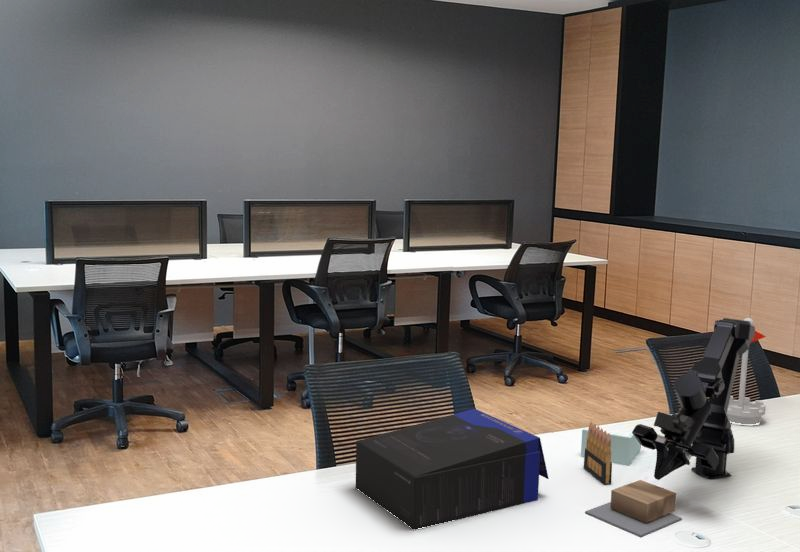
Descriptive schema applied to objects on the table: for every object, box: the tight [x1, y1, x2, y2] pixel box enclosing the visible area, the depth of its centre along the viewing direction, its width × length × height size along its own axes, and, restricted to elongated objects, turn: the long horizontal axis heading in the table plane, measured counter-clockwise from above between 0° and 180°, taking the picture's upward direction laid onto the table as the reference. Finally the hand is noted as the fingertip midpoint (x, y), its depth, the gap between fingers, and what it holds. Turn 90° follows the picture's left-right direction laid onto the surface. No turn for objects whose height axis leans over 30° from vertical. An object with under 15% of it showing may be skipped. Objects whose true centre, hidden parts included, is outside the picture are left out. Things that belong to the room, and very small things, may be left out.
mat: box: [584, 501, 683, 538], centre depth 180 cm, size 14×14×1 cm
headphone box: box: [355, 408, 549, 530], centre depth 189 cm, size 25×35×14 cm
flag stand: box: [727, 317, 767, 424], centre depth 246 cm, size 13×13×30 cm
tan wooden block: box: [610, 479, 677, 523], centre depth 182 cm, size 4×9×10 cm
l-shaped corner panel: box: [580, 428, 642, 467], centre depth 217 cm, size 12×12×8 cm
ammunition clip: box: [583, 420, 613, 486], centre depth 201 cm, size 11×2×12 cm, turn 14°
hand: (656, 478), depth 183 cm, fingers closed
